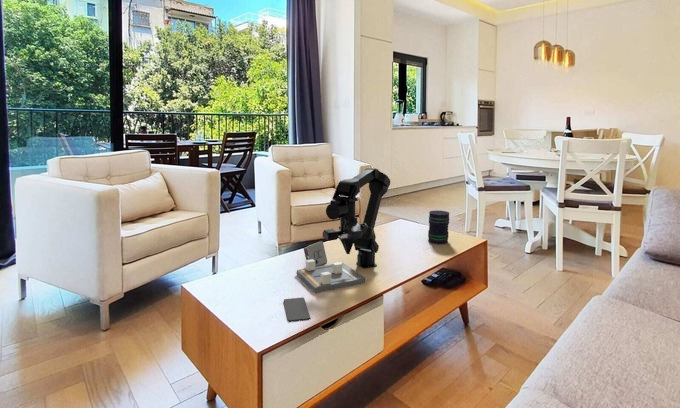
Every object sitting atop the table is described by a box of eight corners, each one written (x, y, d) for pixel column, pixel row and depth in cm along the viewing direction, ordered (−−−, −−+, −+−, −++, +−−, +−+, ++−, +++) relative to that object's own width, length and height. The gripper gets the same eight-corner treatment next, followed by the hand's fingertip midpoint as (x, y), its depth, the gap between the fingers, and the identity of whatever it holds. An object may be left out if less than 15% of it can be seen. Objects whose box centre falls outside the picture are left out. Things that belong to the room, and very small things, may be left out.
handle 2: (328, 280, 142) (328, 271, 141) (331, 283, 140) (331, 273, 139) (320, 282, 141) (320, 272, 140) (323, 284, 139) (323, 275, 138)
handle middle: (339, 270, 152) (339, 261, 151) (342, 272, 150) (342, 263, 149) (332, 271, 151) (332, 263, 150) (335, 273, 149) (335, 265, 148)
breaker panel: (342, 267, 162) (342, 262, 162) (365, 283, 145) (365, 277, 145) (296, 274, 154) (296, 269, 153) (315, 293, 137) (315, 287, 136)
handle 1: (312, 267, 155) (312, 259, 155) (315, 269, 153) (315, 261, 152) (305, 268, 154) (305, 260, 153) (308, 270, 152) (307, 262, 151)
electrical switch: (312, 269, 160) (310, 246, 159) (303, 267, 164) (301, 245, 162) (327, 262, 168) (326, 241, 166) (318, 261, 171) (317, 240, 170)
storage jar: (426, 243, 195) (427, 213, 192) (428, 238, 204) (430, 209, 201) (447, 245, 192) (449, 215, 189) (448, 239, 201) (450, 211, 198)
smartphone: (287, 320, 117) (283, 299, 131) (288, 323, 117) (283, 301, 131) (311, 318, 118) (304, 297, 132) (311, 321, 118) (304, 299, 133)
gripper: (334, 221, 137) (334, 264, 140) (380, 216, 145) (379, 256, 148) (321, 215, 147) (322, 255, 150) (365, 210, 155) (365, 248, 158)
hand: (347, 253), depth 151 cm, fingers closed
